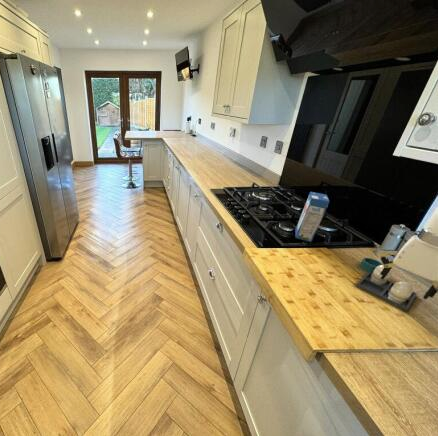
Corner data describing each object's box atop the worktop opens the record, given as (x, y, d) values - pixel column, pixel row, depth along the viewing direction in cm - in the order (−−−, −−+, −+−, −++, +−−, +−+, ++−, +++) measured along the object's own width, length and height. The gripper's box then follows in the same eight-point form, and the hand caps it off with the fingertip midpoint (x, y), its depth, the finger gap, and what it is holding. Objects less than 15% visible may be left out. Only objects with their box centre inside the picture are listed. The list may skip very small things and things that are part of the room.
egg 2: (405, 302, 74) (417, 285, 71) (401, 307, 72) (414, 290, 69) (387, 293, 77) (399, 276, 74) (383, 298, 75) (395, 281, 72)
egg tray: (414, 297, 77) (417, 293, 76) (404, 313, 70) (407, 309, 70) (367, 275, 86) (369, 271, 85) (354, 287, 80) (356, 283, 79)
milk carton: (311, 242, 105) (329, 201, 96) (295, 238, 107) (311, 198, 98) (309, 233, 113) (326, 194, 104) (295, 229, 115) (310, 191, 106)
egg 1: (385, 283, 81) (396, 267, 78) (382, 288, 79) (393, 271, 76) (370, 276, 84) (380, 261, 81) (366, 280, 82) (376, 264, 79)
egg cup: (381, 271, 89) (386, 264, 87) (376, 277, 85) (381, 269, 84) (361, 263, 93) (366, 255, 91) (356, 268, 90) (360, 260, 88)
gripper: (490, 251, 60) (446, 300, 68) (399, 223, 72) (371, 267, 80) (488, 260, 56) (442, 311, 64) (393, 228, 68) (364, 274, 76)
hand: (403, 286), depth 72 cm, fingers open, 9 cm apart
